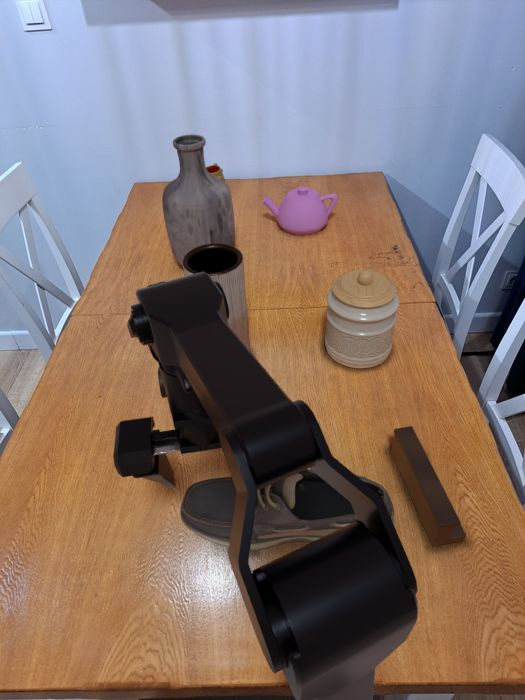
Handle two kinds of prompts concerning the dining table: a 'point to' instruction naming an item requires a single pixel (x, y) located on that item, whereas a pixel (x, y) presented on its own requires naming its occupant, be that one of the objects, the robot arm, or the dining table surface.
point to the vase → (196, 202)
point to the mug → (216, 171)
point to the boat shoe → (273, 509)
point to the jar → (361, 318)
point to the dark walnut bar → (426, 489)
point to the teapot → (302, 210)
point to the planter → (224, 280)
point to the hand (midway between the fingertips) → (212, 479)
